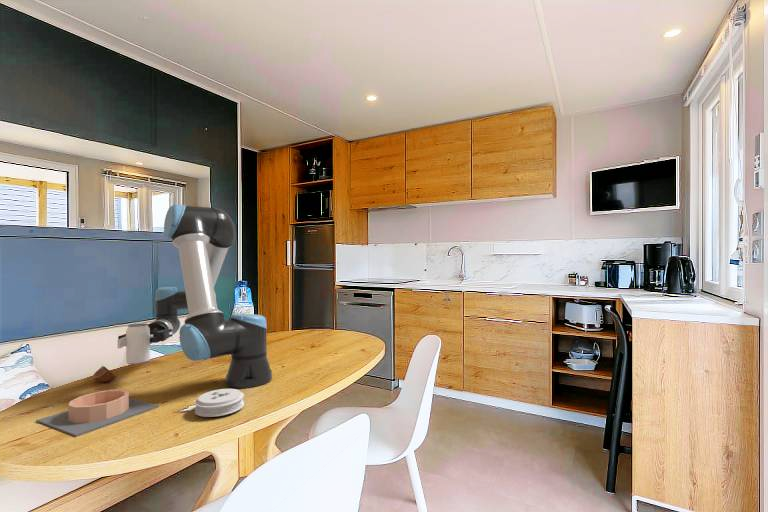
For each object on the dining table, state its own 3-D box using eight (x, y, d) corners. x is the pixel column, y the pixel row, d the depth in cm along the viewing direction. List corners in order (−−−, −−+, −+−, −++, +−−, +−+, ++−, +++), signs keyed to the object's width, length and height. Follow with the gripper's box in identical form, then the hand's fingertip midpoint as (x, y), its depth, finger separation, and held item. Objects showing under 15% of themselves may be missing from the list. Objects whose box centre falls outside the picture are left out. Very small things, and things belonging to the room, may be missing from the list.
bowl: (138, 407, 105) (138, 393, 105) (85, 426, 94) (85, 410, 94) (112, 400, 111) (112, 387, 111) (59, 417, 100) (59, 402, 100)
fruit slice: (118, 382, 130) (118, 368, 130) (94, 387, 125) (94, 372, 125) (113, 377, 136) (113, 363, 136) (90, 381, 131) (90, 367, 131)
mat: (158, 406, 107) (158, 405, 107) (76, 436, 89) (76, 435, 89) (118, 396, 116) (118, 395, 116) (36, 421, 98) (36, 420, 98)
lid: (193, 424, 96) (193, 404, 96) (196, 406, 108) (196, 389, 108) (245, 415, 101) (245, 396, 101) (243, 399, 113) (242, 382, 113)
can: (154, 359, 123) (154, 323, 124) (136, 365, 117) (135, 326, 118) (140, 358, 126) (140, 323, 126) (121, 363, 119) (121, 326, 120)
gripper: (186, 339, 141) (166, 352, 119) (128, 342, 137) (96, 357, 114) (186, 319, 141) (165, 329, 119) (128, 322, 137) (96, 333, 114)
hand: (131, 343), depth 117 cm, fingers closed on can, 6 cm apart
